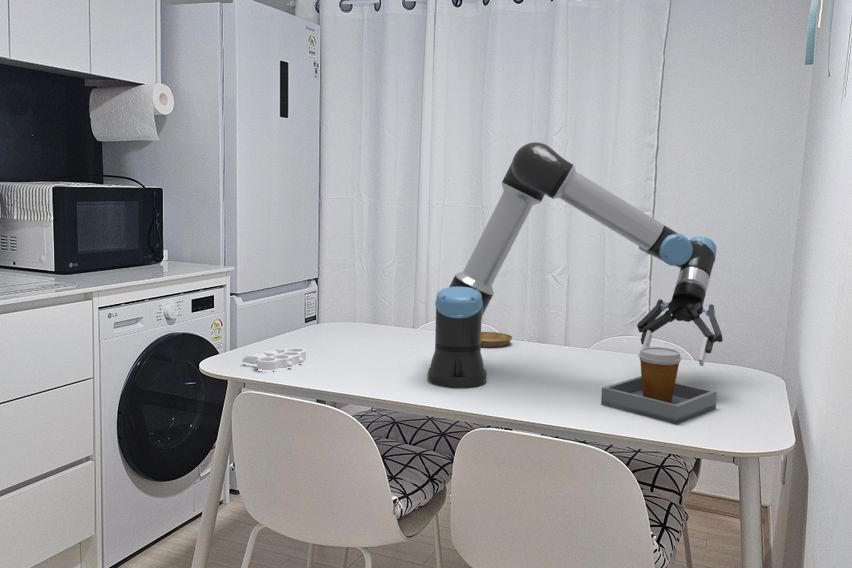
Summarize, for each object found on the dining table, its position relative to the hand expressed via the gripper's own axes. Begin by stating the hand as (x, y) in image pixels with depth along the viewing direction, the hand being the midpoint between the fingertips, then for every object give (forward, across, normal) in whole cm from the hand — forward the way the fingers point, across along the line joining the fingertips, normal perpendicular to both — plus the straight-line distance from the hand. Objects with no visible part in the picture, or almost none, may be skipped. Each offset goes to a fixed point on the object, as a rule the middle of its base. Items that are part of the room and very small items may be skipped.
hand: (671, 358), depth 185 cm
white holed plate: (+29, +98, +15) cm, 103 cm away
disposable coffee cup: (+12, 0, 0) cm, 13 cm away
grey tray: (+13, 0, 0) cm, 13 cm away
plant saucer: (-13, +64, -27) cm, 70 cm away
